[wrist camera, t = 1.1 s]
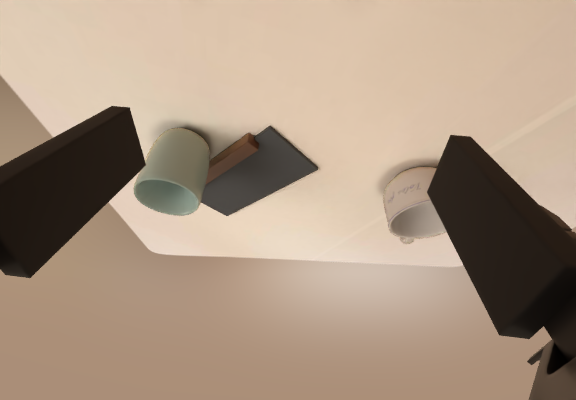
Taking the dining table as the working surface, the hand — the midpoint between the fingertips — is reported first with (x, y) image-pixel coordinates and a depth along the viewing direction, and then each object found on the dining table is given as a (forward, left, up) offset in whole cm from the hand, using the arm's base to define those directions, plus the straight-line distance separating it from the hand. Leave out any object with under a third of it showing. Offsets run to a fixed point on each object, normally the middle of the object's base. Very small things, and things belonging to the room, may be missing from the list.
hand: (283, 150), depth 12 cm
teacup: (+34, -4, -21) cm, 40 cm away
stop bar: (+10, -24, -20) cm, 33 cm away
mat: (+15, -24, -20) cm, 35 cm away
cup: (+5, -24, -21) cm, 32 cm away
